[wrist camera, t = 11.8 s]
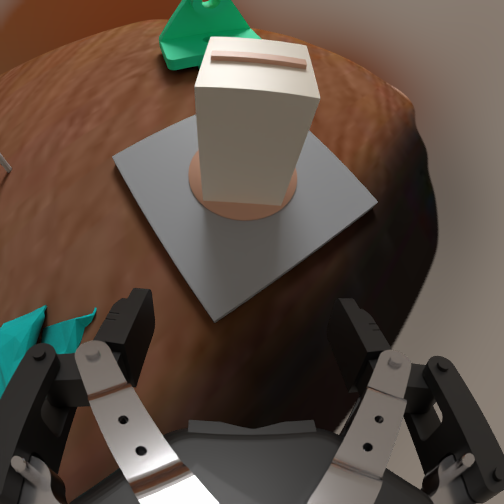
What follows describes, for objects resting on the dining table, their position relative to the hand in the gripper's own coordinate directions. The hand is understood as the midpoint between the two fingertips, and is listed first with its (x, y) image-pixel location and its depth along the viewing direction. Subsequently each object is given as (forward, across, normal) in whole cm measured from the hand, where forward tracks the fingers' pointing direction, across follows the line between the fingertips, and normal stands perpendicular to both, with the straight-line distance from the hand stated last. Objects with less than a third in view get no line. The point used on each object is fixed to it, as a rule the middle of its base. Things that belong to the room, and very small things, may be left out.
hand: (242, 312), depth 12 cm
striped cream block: (+12, 0, -4) cm, 13 cm away
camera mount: (+28, +5, -18) cm, 33 cm away
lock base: (+13, 0, -3) cm, 13 cm away
